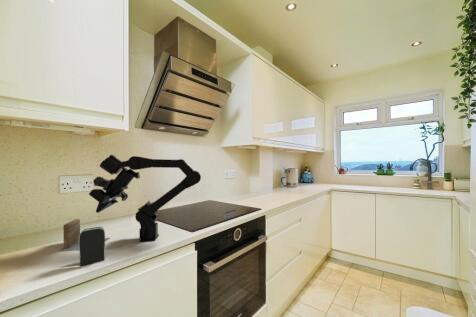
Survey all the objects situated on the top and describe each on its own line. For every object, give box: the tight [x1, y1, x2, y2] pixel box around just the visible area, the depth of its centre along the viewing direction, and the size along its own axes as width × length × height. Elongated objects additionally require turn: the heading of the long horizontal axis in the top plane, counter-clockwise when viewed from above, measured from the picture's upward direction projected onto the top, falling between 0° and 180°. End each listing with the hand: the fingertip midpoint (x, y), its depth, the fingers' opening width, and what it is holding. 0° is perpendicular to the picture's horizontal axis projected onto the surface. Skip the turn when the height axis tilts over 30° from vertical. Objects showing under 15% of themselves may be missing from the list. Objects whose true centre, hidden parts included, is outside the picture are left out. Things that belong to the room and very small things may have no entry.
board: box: [63, 218, 81, 249], centre depth 83 cm, size 2×8×9 cm, turn 12°
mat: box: [57, 237, 111, 252], centre depth 83 cm, size 13×12×1 cm
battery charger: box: [79, 226, 106, 267], centre depth 69 cm, size 7×4×11 cm, turn 124°
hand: (97, 212), depth 85 cm, fingers closed
